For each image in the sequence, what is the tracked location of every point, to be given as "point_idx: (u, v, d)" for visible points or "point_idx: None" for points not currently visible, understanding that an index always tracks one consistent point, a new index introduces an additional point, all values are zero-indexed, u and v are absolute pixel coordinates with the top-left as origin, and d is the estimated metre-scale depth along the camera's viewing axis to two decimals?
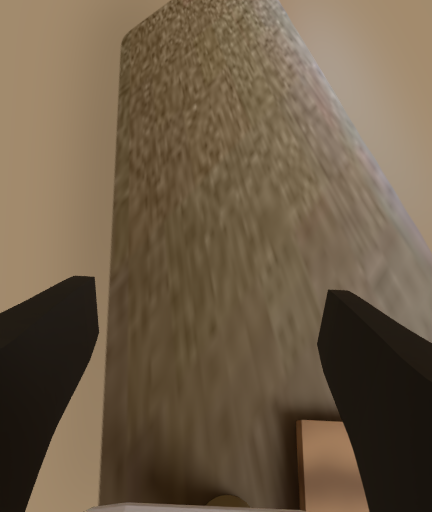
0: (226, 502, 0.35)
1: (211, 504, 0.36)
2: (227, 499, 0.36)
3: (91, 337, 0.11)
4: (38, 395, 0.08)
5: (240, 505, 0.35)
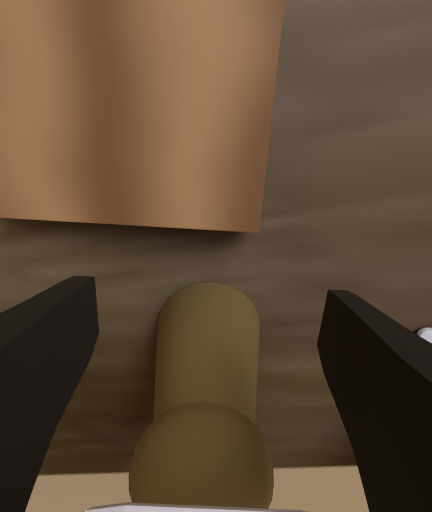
0: None
1: None
2: None
3: (91, 337, 0.11)
4: (38, 395, 0.08)
5: (160, 335, 0.20)
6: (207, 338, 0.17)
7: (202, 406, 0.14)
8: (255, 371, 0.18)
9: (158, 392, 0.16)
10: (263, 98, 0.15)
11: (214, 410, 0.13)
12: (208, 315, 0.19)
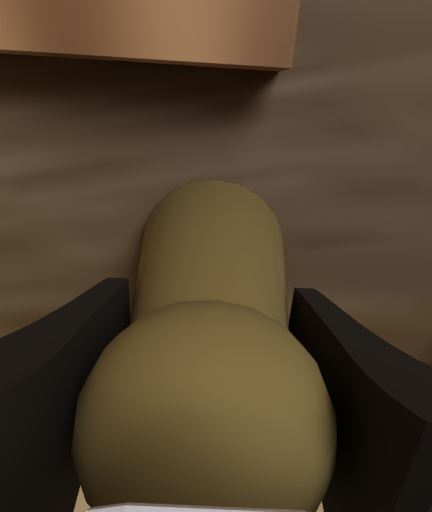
0: None
1: None
2: None
3: None
4: None
5: (143, 246, 0.14)
6: (212, 231, 0.11)
7: (206, 302, 0.08)
8: (284, 286, 0.12)
9: (135, 307, 0.10)
10: None
11: (227, 307, 0.07)
12: (213, 209, 0.13)
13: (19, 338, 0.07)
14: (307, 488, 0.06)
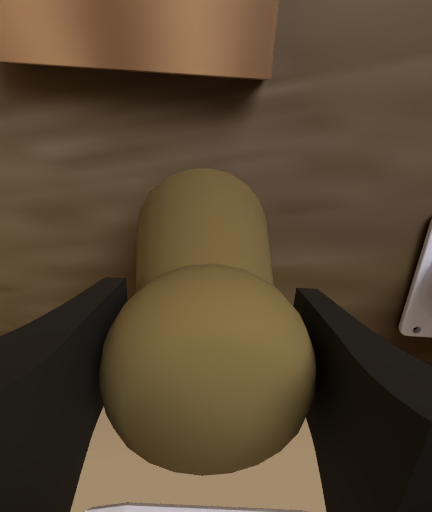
0: None
1: None
2: None
3: None
4: (81, 397, 0.08)
5: (141, 227, 0.15)
6: (207, 212, 0.13)
7: (209, 265, 0.09)
8: (269, 260, 0.14)
9: (141, 277, 0.12)
10: None
11: (227, 268, 0.09)
12: (206, 193, 0.14)
13: (16, 338, 0.07)
14: (293, 406, 0.08)
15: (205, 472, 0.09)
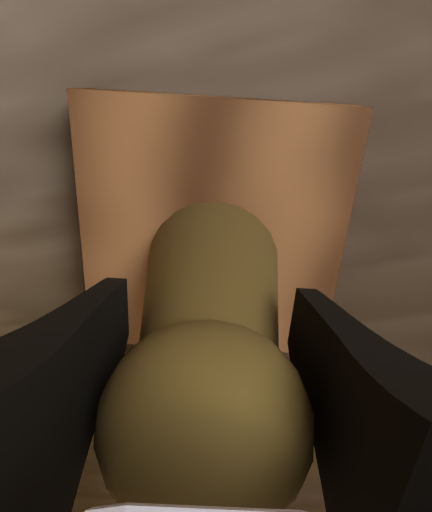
0: None
1: None
2: None
3: (123, 339, 0.11)
4: (82, 397, 0.08)
5: (149, 264, 0.15)
6: (211, 253, 0.13)
7: (205, 321, 0.09)
8: (276, 301, 0.13)
9: (144, 321, 0.12)
10: (333, 255, 0.18)
11: (223, 326, 0.09)
12: (212, 231, 0.14)
13: (17, 338, 0.07)
14: (287, 476, 0.08)
15: None
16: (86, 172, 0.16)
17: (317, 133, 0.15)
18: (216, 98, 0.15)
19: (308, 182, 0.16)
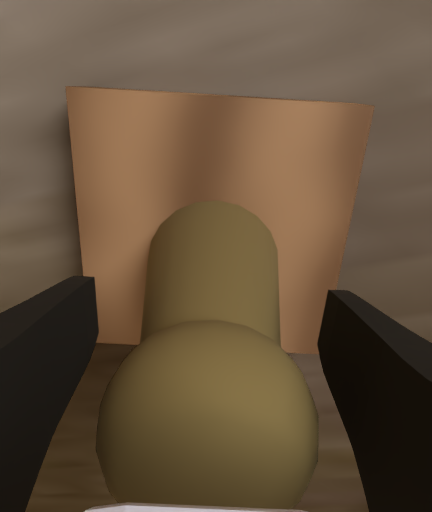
0: None
1: None
2: None
3: (91, 337, 0.11)
4: (38, 395, 0.08)
5: (150, 263, 0.15)
6: (212, 252, 0.13)
7: (208, 322, 0.09)
8: (278, 301, 0.13)
9: (145, 322, 0.12)
10: (334, 254, 0.17)
11: (226, 327, 0.09)
12: (213, 231, 0.14)
13: None
14: (292, 477, 0.08)
15: None
16: (85, 171, 0.16)
17: (318, 132, 0.15)
18: (216, 96, 0.15)
19: (309, 180, 0.16)
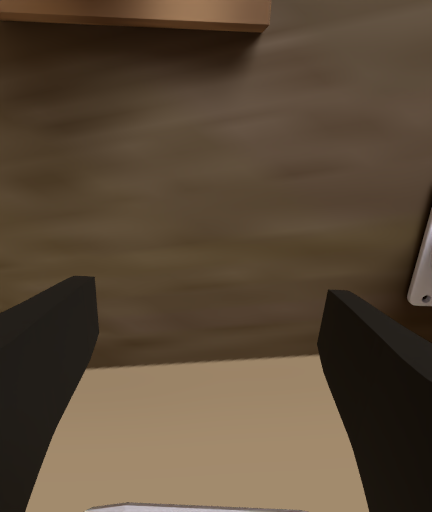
0: None
1: None
2: None
3: (91, 337, 0.11)
4: (38, 395, 0.08)
5: None
6: None
7: None
8: None
9: None
10: None
11: None
12: None
13: None
14: None
15: None
16: None
17: None
18: None
19: None
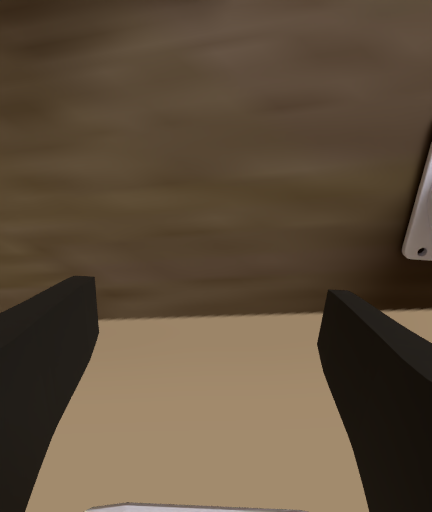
0: None
1: None
2: None
3: (91, 337, 0.11)
4: (38, 395, 0.08)
5: None
6: None
7: None
8: None
9: None
10: None
11: None
12: None
13: None
14: None
15: None
16: None
17: None
18: None
19: None
